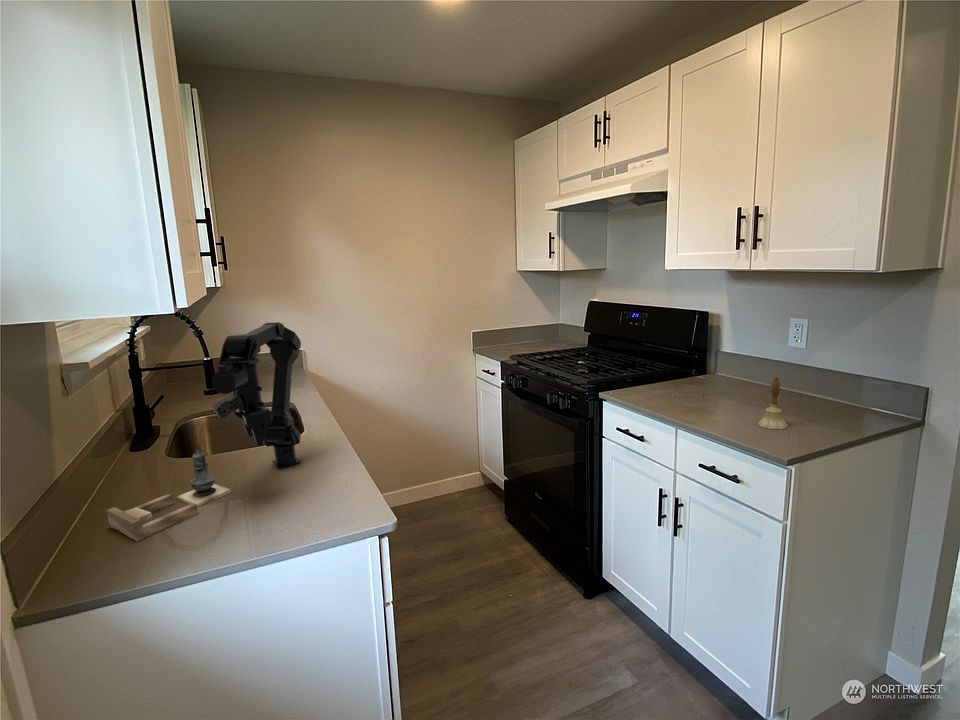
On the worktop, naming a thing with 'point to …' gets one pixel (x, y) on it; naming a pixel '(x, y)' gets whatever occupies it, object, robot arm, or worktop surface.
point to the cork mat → (200, 501)
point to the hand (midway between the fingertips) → (255, 441)
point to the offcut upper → (141, 515)
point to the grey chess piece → (201, 476)
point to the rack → (138, 531)
